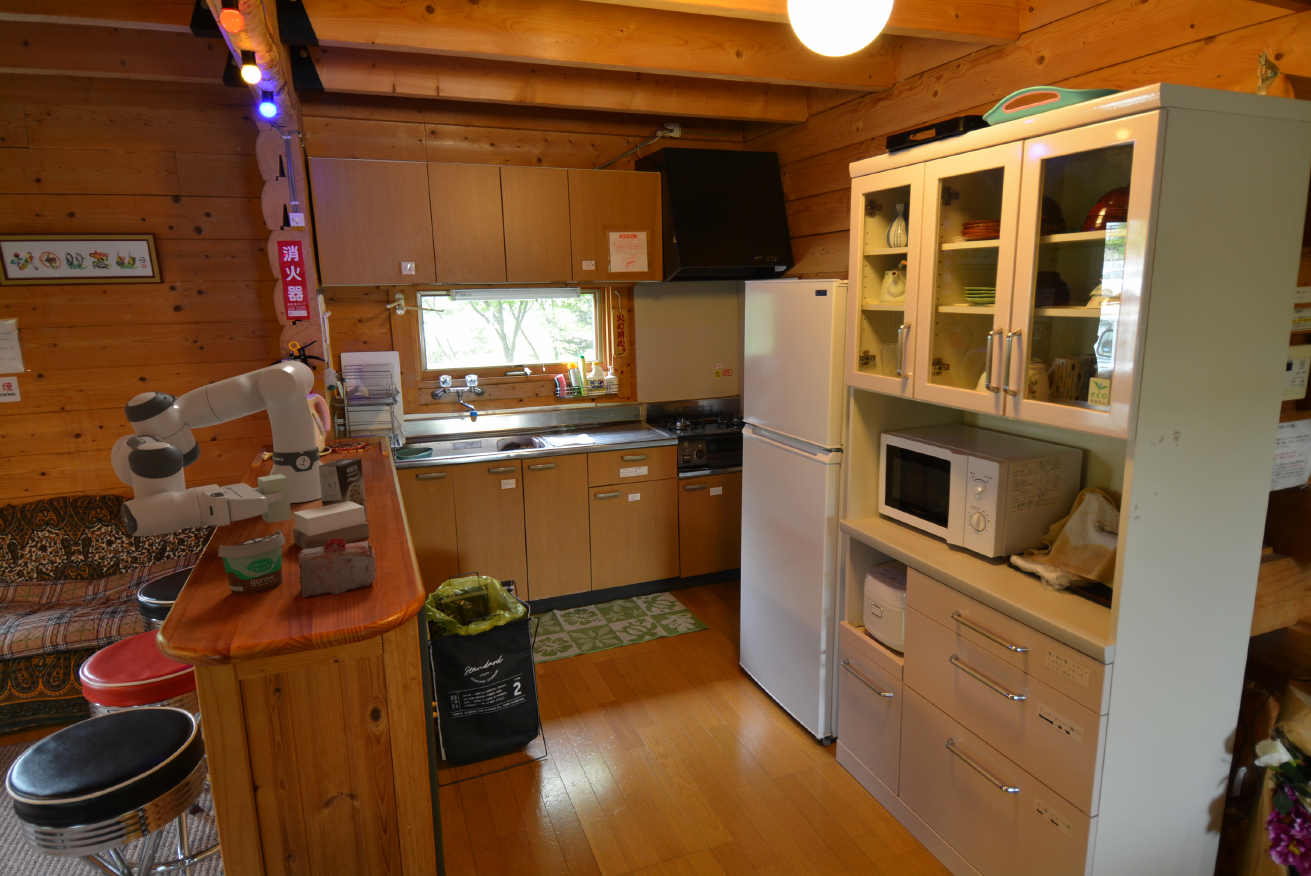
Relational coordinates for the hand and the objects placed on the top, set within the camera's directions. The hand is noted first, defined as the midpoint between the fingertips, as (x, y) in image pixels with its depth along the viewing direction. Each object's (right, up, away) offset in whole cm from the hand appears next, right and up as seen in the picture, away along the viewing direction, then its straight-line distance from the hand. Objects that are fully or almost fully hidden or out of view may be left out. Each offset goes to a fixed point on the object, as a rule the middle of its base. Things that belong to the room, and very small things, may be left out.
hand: (278, 493), depth 175 cm
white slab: (+13, -8, -1) cm, 15 cm away
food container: (+12, -17, -29) cm, 36 cm away
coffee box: (+11, -9, +12) cm, 19 cm away
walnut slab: (+13, -12, 0) cm, 17 cm away
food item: (+27, -17, -30) cm, 44 cm away
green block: (-1, -6, +1) cm, 6 cm away
